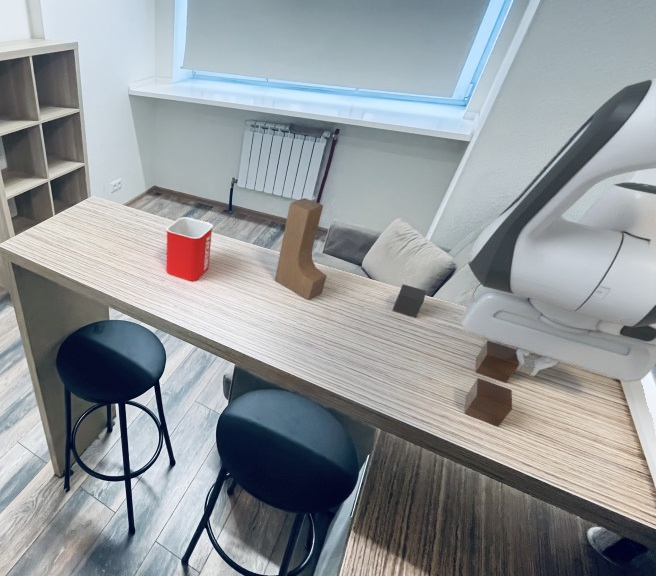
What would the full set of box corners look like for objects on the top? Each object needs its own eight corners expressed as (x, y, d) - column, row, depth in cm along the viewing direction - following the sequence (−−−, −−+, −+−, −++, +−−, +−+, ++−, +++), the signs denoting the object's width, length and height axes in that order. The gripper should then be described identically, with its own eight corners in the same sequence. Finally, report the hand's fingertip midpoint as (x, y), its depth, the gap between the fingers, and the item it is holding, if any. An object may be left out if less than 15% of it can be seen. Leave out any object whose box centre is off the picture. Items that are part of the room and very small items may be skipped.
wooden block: (322, 293, 84) (345, 212, 73) (308, 301, 82) (330, 219, 71) (287, 274, 90) (304, 197, 80) (273, 280, 88) (289, 202, 78)
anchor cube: (418, 307, 80) (426, 290, 77) (415, 318, 77) (423, 301, 75) (395, 300, 81) (402, 284, 79) (392, 310, 79) (399, 294, 77)
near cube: (498, 408, 60) (511, 389, 57) (498, 427, 57) (512, 408, 55) (465, 395, 62) (477, 377, 59) (464, 413, 59) (476, 395, 57)
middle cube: (505, 367, 66) (518, 349, 64) (506, 383, 64) (519, 365, 61) (476, 357, 68) (487, 340, 66) (475, 372, 66) (486, 354, 63)
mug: (195, 283, 87) (198, 240, 81) (162, 272, 91) (162, 230, 85) (219, 259, 96) (223, 217, 89) (188, 250, 99) (190, 209, 93)
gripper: (481, 286, 58) (442, 355, 66) (691, 341, 48) (615, 415, 56) (483, 266, 62) (446, 334, 70) (677, 314, 52) (608, 386, 60)
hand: (523, 370), depth 63 cm, fingers closed
